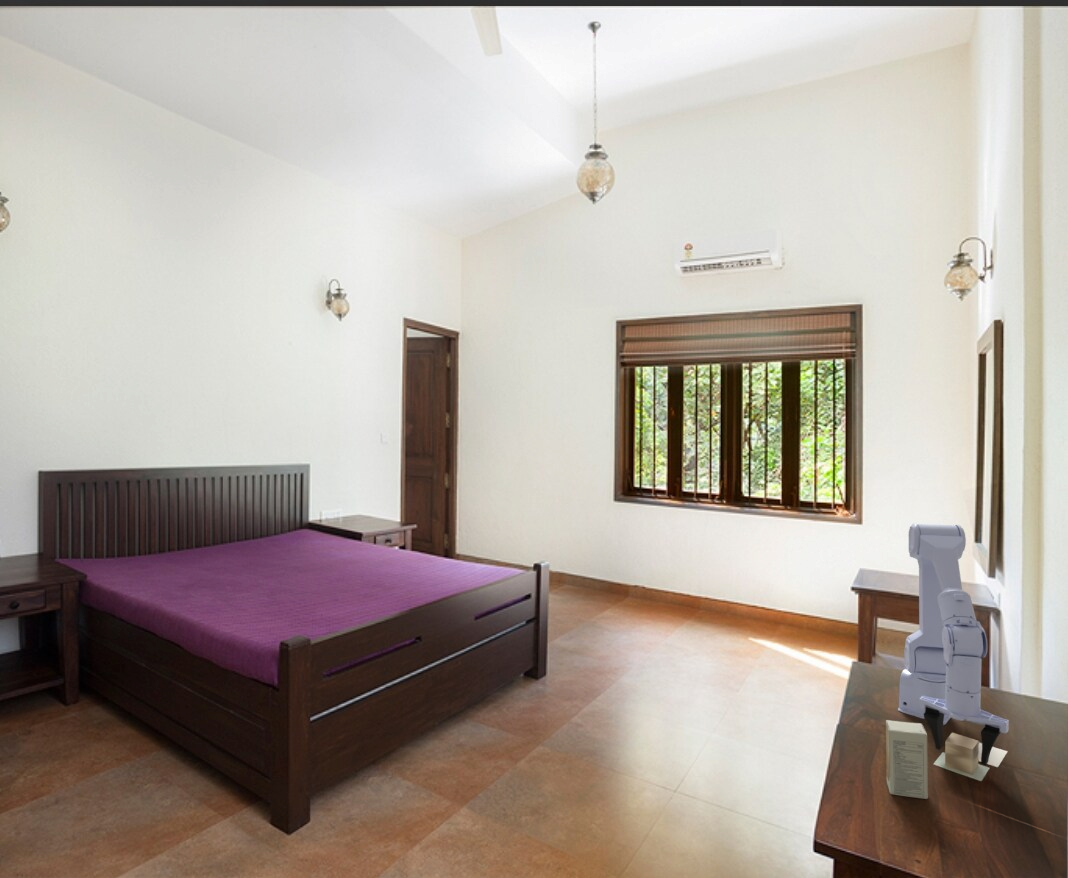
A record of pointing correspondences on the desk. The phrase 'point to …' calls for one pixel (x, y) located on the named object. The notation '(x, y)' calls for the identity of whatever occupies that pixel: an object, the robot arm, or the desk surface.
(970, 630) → the robot arm
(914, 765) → the skincare box
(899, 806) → the desk surface
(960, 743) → the maple block
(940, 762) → the sage coaster
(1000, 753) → the tile
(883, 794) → the desk surface
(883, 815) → the desk surface
